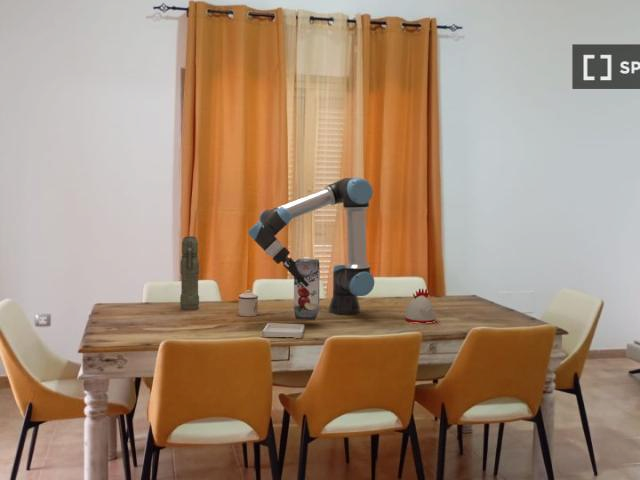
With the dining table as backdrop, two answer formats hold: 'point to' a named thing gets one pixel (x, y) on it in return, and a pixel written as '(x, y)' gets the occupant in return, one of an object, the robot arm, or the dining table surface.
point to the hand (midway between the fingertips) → (314, 289)
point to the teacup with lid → (248, 304)
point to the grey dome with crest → (420, 308)
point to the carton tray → (283, 330)
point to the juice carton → (303, 299)
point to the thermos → (189, 274)
